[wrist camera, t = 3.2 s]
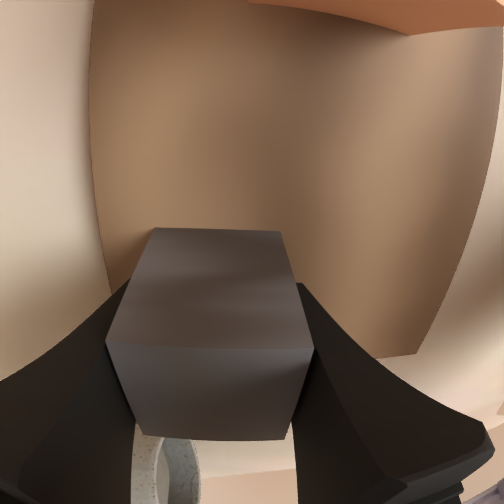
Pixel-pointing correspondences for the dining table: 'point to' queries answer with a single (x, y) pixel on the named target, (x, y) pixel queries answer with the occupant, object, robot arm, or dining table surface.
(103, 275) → the dining table surface
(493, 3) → the cube
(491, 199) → the dining table surface
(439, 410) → the robot arm
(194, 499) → the ceramic mug
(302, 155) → the thin brown board
